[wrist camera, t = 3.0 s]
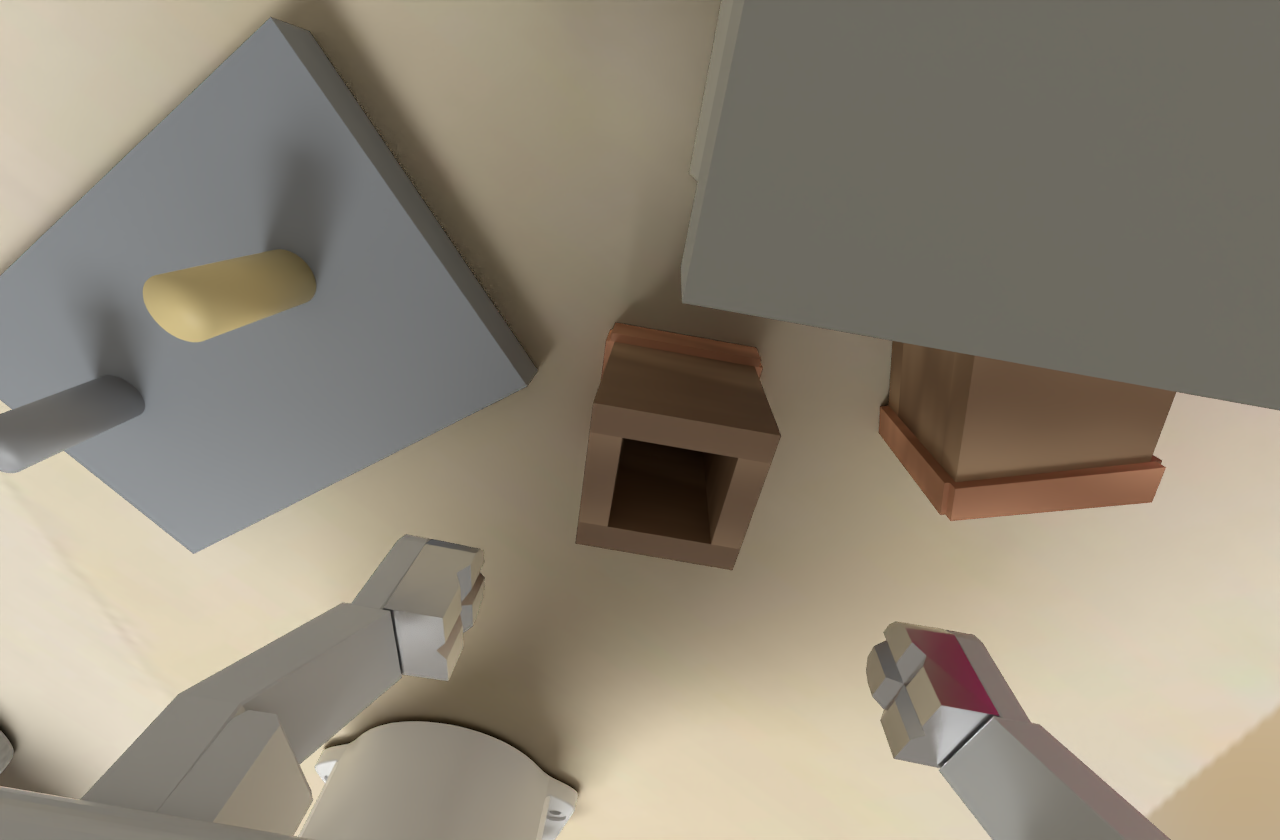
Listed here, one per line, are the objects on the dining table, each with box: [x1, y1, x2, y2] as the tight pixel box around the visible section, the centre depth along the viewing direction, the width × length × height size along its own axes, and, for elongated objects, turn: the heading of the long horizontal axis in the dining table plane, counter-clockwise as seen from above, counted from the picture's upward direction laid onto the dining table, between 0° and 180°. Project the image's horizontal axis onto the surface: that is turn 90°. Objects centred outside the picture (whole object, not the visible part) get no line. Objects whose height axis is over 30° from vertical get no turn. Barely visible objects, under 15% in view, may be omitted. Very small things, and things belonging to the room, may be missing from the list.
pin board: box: [0, 17, 538, 554], centre depth 17 cm, size 12×20×6 cm, turn 118°
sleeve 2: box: [879, 341, 1176, 521], centre depth 15 cm, size 6×6×5 cm
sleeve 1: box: [576, 323, 781, 570], centre depth 16 cm, size 6×6×6 cm
